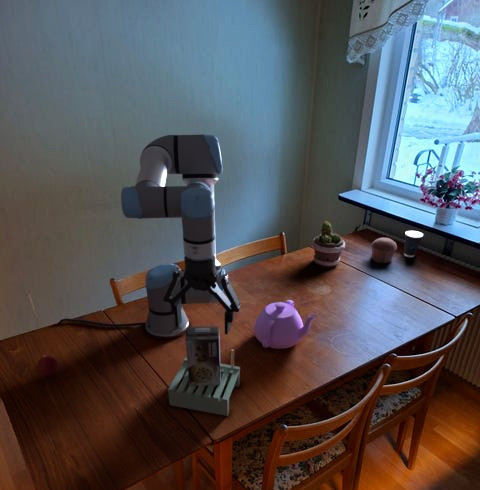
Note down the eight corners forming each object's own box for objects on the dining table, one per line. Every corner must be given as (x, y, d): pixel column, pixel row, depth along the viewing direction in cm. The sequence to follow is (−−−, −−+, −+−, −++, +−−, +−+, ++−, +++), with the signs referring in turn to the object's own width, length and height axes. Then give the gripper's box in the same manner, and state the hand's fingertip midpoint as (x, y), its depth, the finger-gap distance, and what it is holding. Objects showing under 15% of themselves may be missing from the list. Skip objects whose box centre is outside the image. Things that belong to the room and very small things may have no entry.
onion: (53, 367, 141) (48, 346, 137) (64, 374, 138) (58, 354, 134) (36, 376, 137) (30, 355, 133) (46, 384, 134) (40, 363, 130)
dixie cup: (404, 250, 219) (409, 229, 213) (420, 255, 215) (425, 233, 209) (397, 255, 214) (402, 233, 208) (413, 260, 210) (419, 238, 204)
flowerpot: (348, 267, 203) (355, 225, 192) (317, 271, 199) (322, 229, 188) (334, 254, 214) (340, 214, 203) (304, 258, 211) (308, 217, 200)
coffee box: (220, 371, 131) (220, 325, 122) (220, 385, 126) (219, 339, 117) (189, 371, 131) (186, 325, 122) (188, 386, 125) (185, 339, 116)
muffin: (371, 263, 206) (375, 243, 201) (366, 253, 216) (370, 234, 210) (397, 264, 206) (401, 244, 201) (391, 254, 215) (395, 234, 210)
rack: (169, 405, 127) (165, 369, 120) (186, 374, 139) (183, 340, 132) (227, 416, 124) (227, 380, 117) (239, 383, 135) (240, 349, 128)
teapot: (301, 367, 142) (304, 331, 135) (241, 347, 151) (242, 312, 143) (324, 333, 158) (329, 299, 151) (269, 316, 167) (271, 284, 160)
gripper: (145, 255, 107) (153, 328, 118) (246, 268, 102) (245, 342, 113) (157, 243, 113) (164, 313, 124) (253, 254, 108) (251, 326, 119)
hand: (202, 327), depth 119 cm, fingers open, 13 cm apart
